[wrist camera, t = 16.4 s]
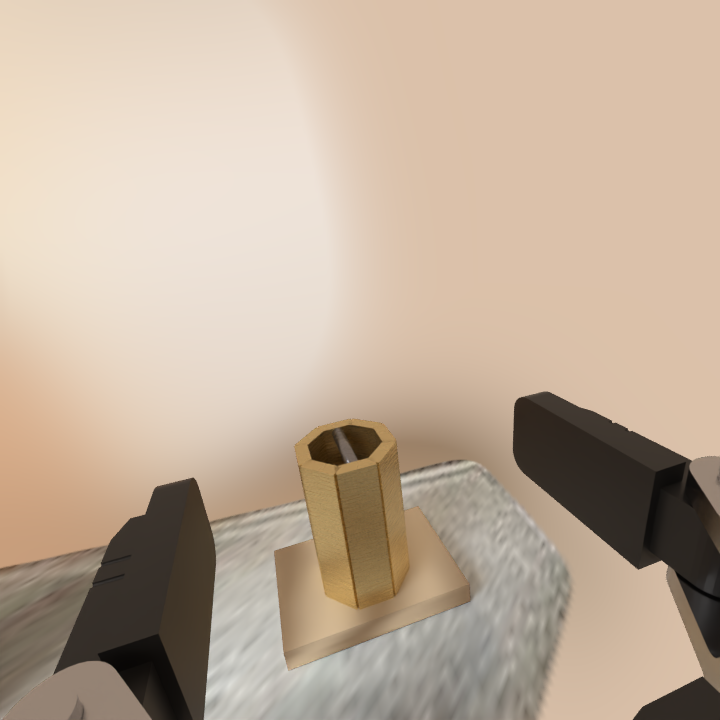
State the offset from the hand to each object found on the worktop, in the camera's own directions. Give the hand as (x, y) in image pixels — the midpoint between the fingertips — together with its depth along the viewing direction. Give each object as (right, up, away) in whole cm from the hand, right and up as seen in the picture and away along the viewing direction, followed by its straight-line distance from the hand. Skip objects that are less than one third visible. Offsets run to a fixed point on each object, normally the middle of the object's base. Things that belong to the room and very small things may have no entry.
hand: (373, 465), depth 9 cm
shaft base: (0, -13, +18) cm, 23 cm away
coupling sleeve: (0, -12, +18) cm, 21 cm away
